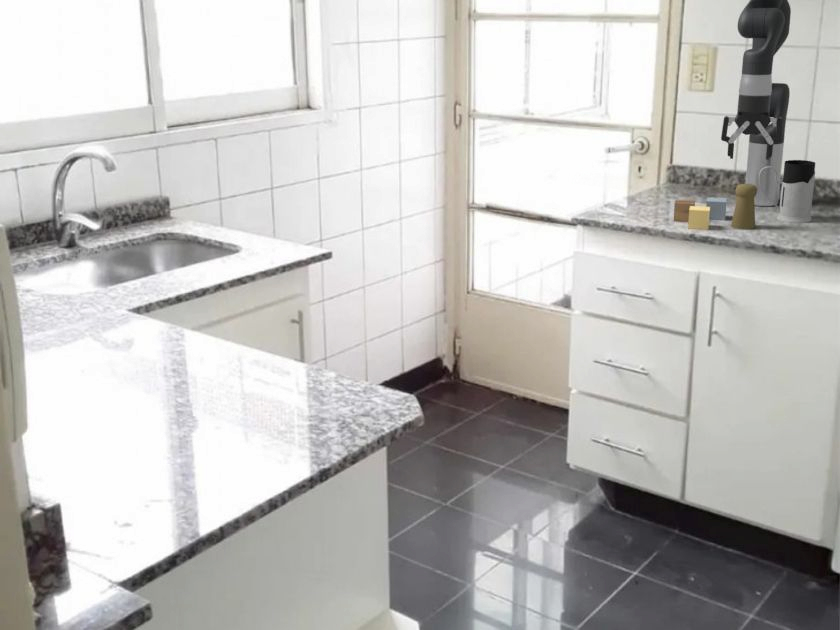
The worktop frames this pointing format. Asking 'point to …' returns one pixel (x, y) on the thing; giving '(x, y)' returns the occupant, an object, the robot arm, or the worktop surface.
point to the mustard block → (699, 217)
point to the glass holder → (795, 191)
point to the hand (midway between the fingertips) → (749, 158)
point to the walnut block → (682, 210)
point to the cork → (744, 207)
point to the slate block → (717, 208)
